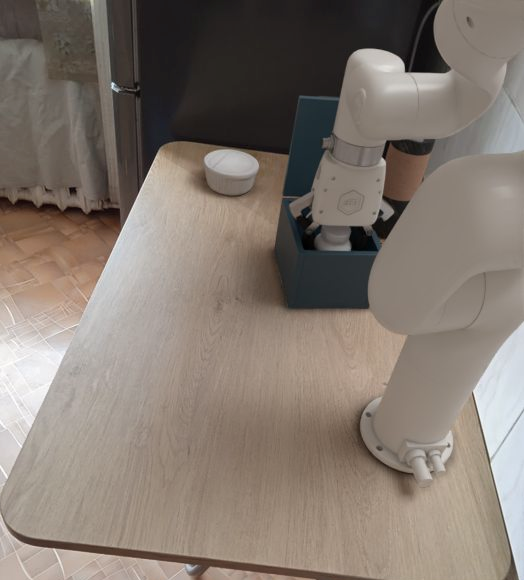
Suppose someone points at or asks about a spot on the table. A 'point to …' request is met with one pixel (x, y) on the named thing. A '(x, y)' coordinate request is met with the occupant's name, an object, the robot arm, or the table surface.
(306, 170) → the lid
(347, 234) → the pill bottle
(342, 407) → the table surface
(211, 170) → the ramekin
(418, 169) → the travel mug
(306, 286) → the chest
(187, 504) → the table surface
